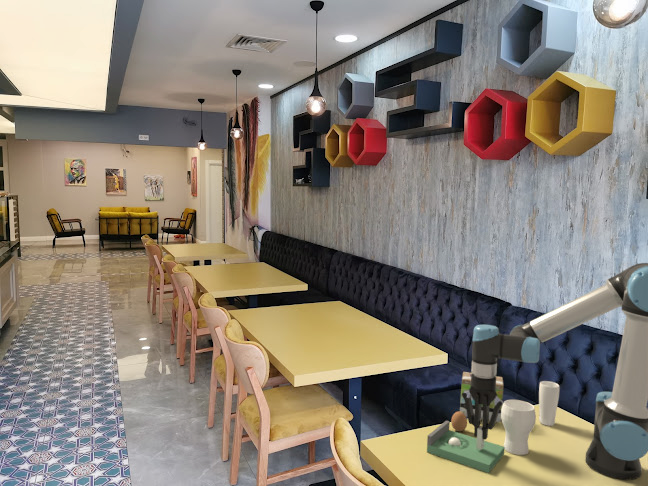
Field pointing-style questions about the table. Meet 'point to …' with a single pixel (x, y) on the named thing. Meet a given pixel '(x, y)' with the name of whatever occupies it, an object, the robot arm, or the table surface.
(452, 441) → the ball
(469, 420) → the robot arm
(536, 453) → the table surface
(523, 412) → the cup
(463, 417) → the egg
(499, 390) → the tea box
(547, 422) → the drinking glass
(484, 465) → the green
